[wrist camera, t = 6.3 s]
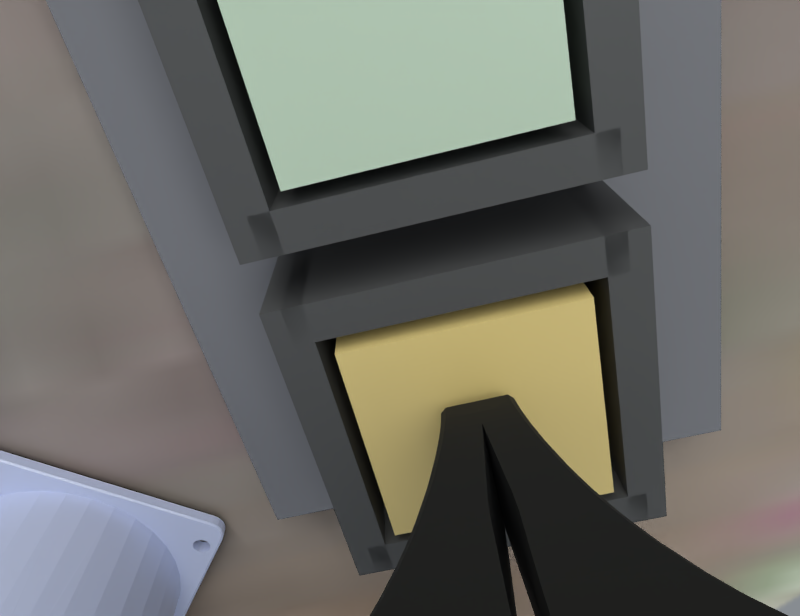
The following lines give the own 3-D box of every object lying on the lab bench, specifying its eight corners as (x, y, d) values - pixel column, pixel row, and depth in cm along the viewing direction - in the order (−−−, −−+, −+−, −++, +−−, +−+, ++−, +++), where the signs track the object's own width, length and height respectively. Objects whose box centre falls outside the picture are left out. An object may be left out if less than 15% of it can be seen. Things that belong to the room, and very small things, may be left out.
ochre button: (581, 422, 16) (613, 492, 14) (392, 461, 16) (394, 535, 14) (559, 246, 14) (594, 297, 12) (340, 296, 14) (334, 354, 12)
